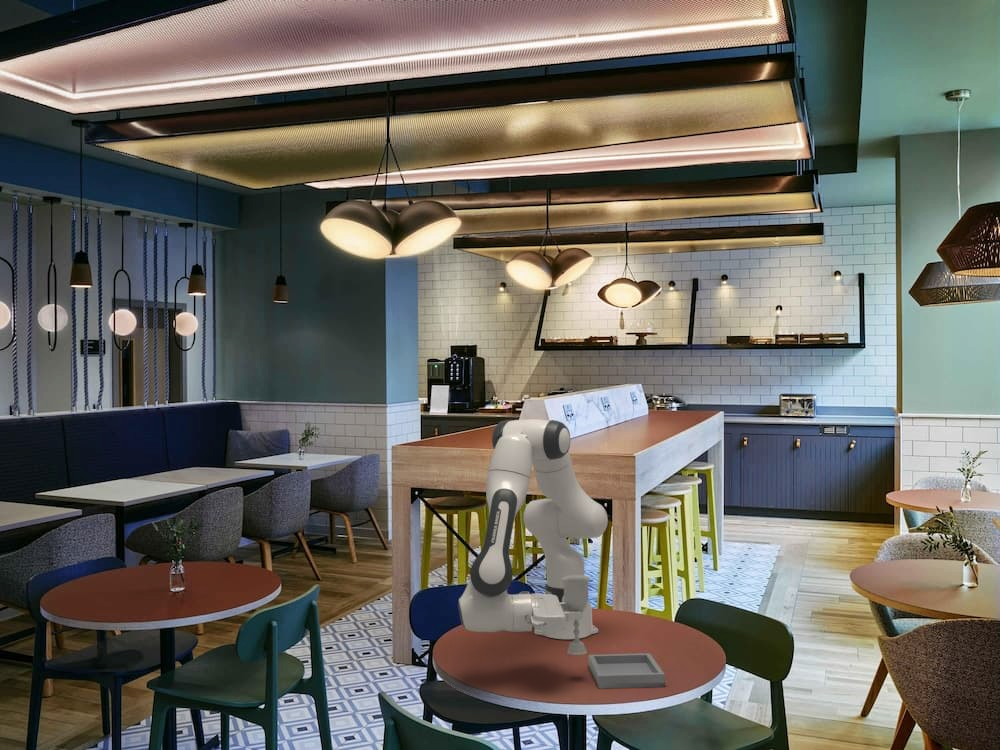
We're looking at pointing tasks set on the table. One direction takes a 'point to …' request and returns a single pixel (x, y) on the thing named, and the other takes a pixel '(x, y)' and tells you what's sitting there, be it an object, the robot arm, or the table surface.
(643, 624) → the table surface
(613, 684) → the tray
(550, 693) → the table surface
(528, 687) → the table surface
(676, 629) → the table surface
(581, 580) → the chalice
